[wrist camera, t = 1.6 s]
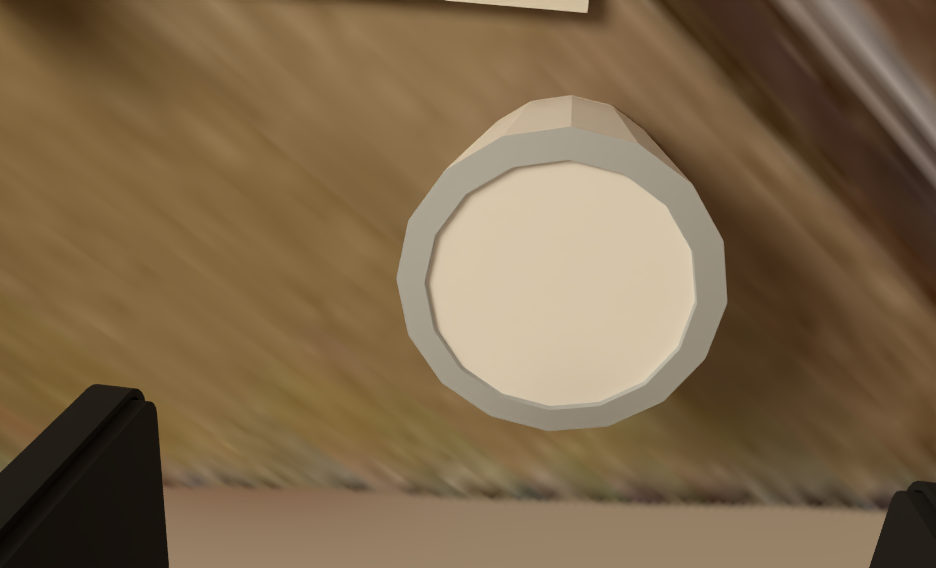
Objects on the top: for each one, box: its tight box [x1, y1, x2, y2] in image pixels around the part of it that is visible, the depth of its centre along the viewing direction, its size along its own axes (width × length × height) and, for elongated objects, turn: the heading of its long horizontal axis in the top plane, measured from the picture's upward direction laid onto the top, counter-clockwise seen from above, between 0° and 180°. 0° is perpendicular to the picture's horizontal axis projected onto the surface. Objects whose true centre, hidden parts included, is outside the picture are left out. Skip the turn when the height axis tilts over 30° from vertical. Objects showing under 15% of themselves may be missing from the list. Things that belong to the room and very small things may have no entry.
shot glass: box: [396, 95, 727, 431], centre depth 21 cm, size 7×7×7 cm
